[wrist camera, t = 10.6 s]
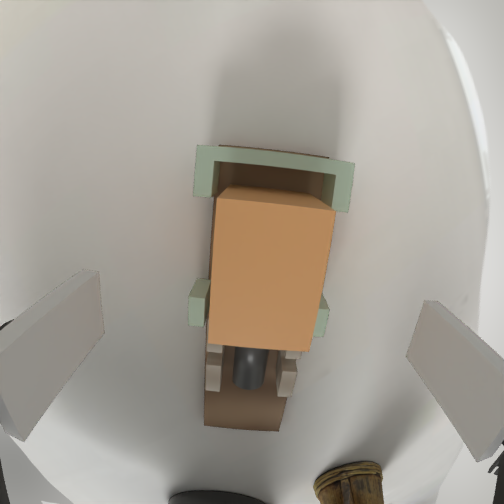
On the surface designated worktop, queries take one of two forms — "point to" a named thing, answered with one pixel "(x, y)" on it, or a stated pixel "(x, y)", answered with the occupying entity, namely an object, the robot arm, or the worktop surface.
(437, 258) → the worktop surface
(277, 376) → the board
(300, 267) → the plug
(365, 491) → the wooden mug
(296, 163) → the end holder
